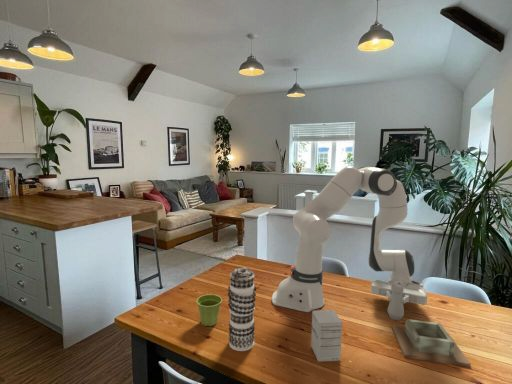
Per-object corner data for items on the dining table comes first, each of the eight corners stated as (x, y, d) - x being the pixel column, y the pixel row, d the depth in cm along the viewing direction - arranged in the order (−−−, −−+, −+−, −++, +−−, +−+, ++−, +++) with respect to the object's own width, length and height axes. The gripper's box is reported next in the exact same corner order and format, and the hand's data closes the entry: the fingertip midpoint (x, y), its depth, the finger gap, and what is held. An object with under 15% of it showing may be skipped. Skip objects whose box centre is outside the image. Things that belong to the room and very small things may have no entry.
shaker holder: (404, 357, 89) (405, 340, 89) (392, 328, 105) (393, 313, 104) (470, 367, 85) (472, 349, 85) (447, 335, 101) (448, 320, 100)
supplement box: (310, 346, 94) (311, 309, 92) (332, 345, 94) (334, 309, 93) (317, 362, 87) (318, 322, 85) (341, 361, 87) (342, 321, 86)
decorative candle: (237, 331, 102) (238, 263, 99) (260, 339, 97) (261, 268, 94) (222, 345, 94) (222, 271, 91) (246, 355, 89) (246, 278, 86)
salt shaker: (405, 322, 108) (408, 289, 107) (389, 320, 110) (391, 288, 108) (401, 314, 114) (403, 283, 113) (385, 312, 115) (387, 281, 114)
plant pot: (212, 312, 114) (212, 291, 113) (227, 322, 107) (227, 300, 106) (191, 321, 107) (191, 299, 107) (206, 332, 101) (206, 309, 100)
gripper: (373, 274, 127) (368, 285, 115) (427, 285, 117) (427, 298, 105) (372, 288, 128) (367, 300, 116) (426, 299, 117) (426, 315, 105)
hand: (396, 300), depth 110 cm, fingers open, 3 cm apart
